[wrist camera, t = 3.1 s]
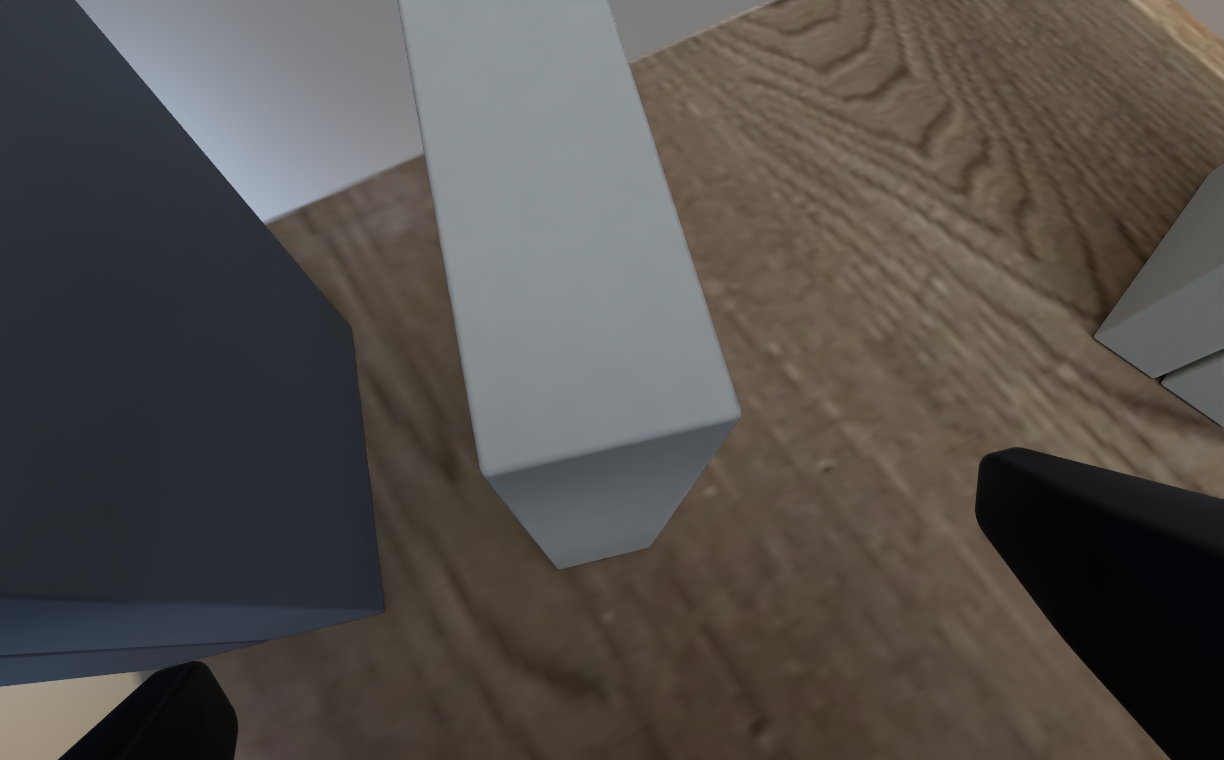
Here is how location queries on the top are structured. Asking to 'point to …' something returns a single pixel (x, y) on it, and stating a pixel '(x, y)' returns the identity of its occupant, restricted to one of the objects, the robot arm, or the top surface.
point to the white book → (565, 272)
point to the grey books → (157, 387)
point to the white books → (1180, 306)
